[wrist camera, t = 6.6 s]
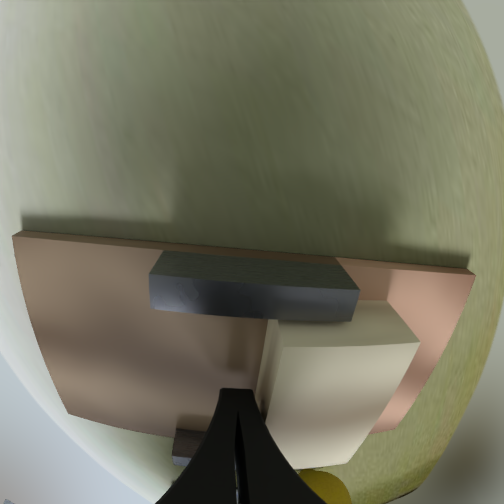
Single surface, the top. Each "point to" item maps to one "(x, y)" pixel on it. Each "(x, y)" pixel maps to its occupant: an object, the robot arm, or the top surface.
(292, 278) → the channel
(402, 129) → the top surface
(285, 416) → the block
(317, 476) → the lemon
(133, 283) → the board
